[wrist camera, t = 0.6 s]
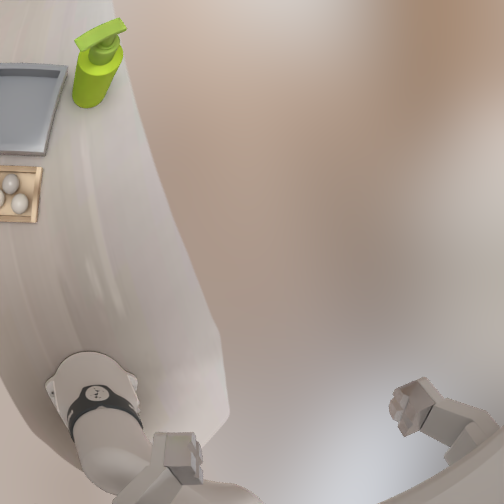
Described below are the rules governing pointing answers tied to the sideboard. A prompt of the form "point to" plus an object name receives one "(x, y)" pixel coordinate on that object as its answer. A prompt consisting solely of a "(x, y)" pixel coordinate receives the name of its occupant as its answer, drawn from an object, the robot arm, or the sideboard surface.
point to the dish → (28, 106)
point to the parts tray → (27, 186)
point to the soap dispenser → (97, 62)
